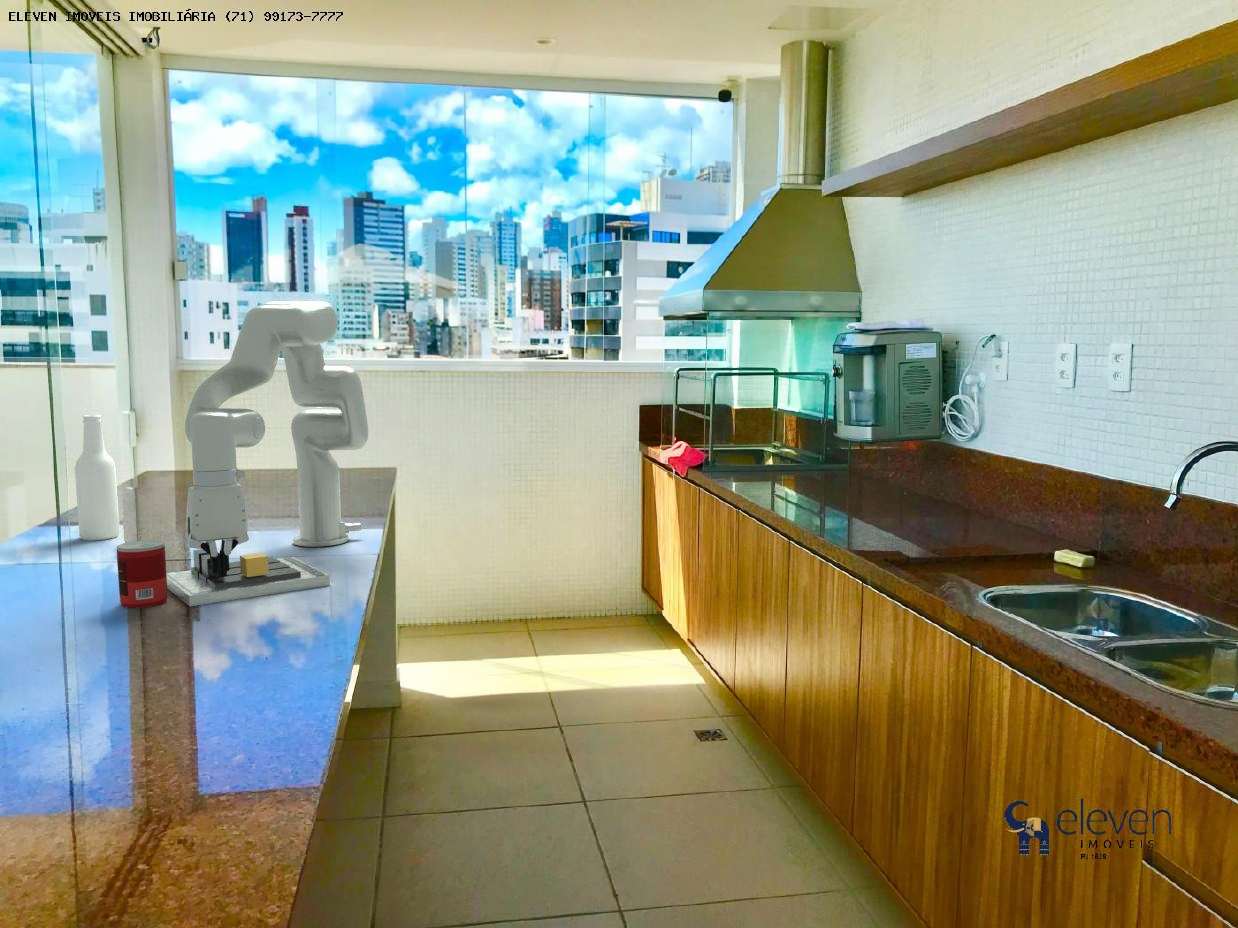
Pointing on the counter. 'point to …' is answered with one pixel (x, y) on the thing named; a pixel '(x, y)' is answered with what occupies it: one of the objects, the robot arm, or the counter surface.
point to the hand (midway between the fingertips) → (220, 575)
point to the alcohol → (96, 486)
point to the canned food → (142, 573)
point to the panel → (241, 580)
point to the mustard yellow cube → (254, 564)
